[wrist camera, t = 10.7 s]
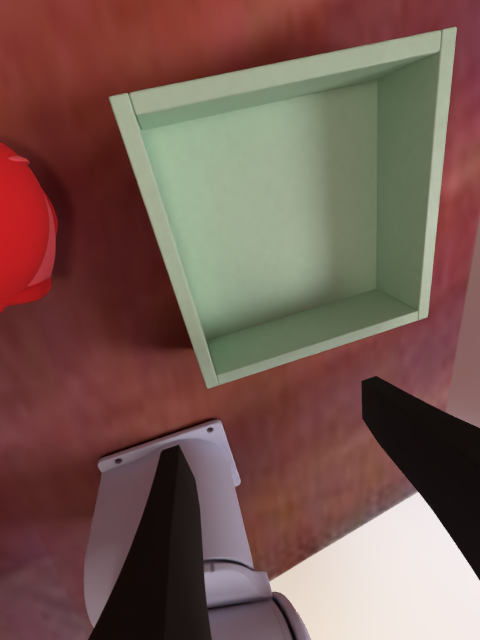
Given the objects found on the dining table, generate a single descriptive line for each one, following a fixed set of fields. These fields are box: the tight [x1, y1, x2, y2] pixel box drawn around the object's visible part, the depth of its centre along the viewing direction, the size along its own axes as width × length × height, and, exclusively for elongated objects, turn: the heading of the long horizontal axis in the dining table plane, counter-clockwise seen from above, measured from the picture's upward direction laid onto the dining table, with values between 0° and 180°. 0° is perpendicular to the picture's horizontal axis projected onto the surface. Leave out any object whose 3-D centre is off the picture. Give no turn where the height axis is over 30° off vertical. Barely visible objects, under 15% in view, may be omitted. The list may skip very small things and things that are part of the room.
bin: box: [109, 27, 457, 389], centre depth 16 cm, size 14×13×4 cm
